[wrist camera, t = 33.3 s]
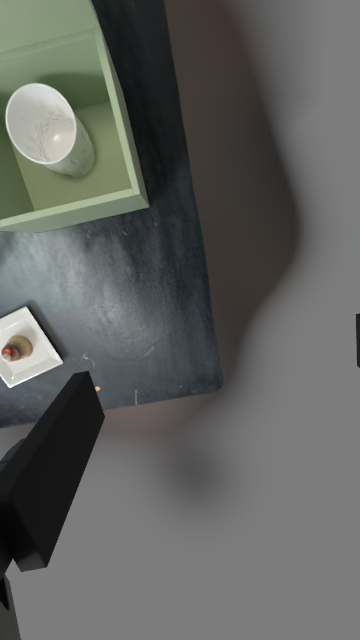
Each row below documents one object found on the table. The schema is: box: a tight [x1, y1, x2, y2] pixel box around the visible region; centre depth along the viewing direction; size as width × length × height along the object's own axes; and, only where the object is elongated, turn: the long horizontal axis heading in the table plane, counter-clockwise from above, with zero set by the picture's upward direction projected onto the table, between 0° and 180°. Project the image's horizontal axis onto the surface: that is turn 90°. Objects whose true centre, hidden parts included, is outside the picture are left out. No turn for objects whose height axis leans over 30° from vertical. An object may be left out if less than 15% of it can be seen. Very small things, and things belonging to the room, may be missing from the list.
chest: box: [0, 25, 150, 233], centre depth 35 cm, size 16×19×13 cm
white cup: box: [6, 83, 95, 177], centre depth 35 cm, size 8×8×10 cm
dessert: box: [0, 307, 63, 388], centre depth 47 cm, size 12×12×5 cm
